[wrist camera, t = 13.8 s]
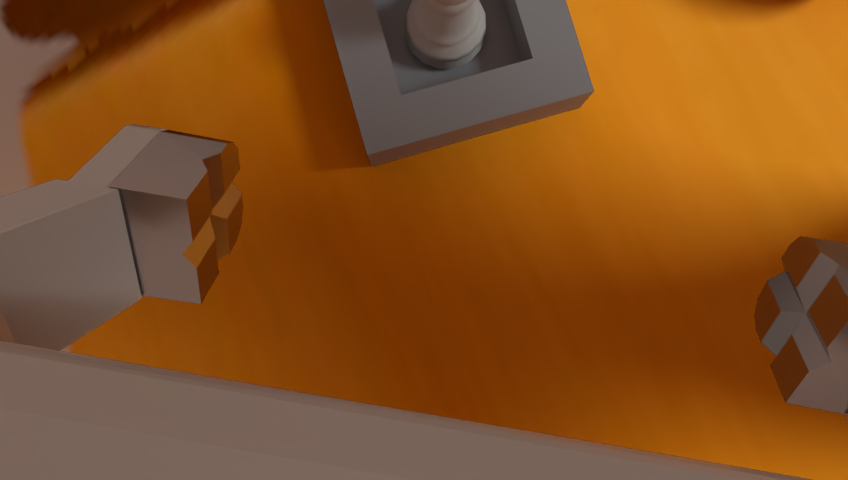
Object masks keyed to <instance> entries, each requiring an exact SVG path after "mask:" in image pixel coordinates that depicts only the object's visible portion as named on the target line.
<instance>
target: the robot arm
mask: <svg viewBox="0 0 848 480" xmlns="http://www.w3.org/2000/svg"><path fill="white" fill-rule="evenodd" d="M239 170H240V162H239V153H238V148H237V147H236V145H235V144H234V142H230V141H225V140H220V139H214V138H209V137H203V136H198V135H192V134H187V133H182V132H176V131H171V130H164V129H161V128H155V127H148V126H141V125H135V124H134V125H126V126H124V127H123V128H122V129H121V130H120V131H119V132H118V133H117V134H116V135H115V136H114V137H113V138H112V139H111V140H110V141H109V142H108V143H107V144H106V145H105V146H104V147H103V148H102V149H101V150H99V151H98V152H97V153H96V154H95V155H94V156H93V157H92V158H91V159H90V160H89V161H88V162H87V163H86V164H85V165H84V166H83V167H82V168H81V169H80V170H79V171H78V172H77V173H76V174H75V175H74V176H73V177H71V178H70V179H69V180H68V181H66V180H60V179H56V180H52V181H49V182H46V183H43V184H40V185H37V186H34V187H31V188H28V189H25V190H22V191H18V192H15V193H12V194H9V195H6V196H3V197H0V480H812V479H806V478H800V477H794V476H789V475H783V474H777V473H771V472H766V471H760V470H754V469H748V468H742V467H737V466H731V465H725V464H719V463H713V462H708V461H702V460H696V459H690V458H685V457H679V456H673V455H667V454H661V453H656V452H650V451H644V450H638V449H632V448H626V447H621V446H615V445H609V444H603V443H597V442H591V441H585V440H579V439H574V438H568V437H562V436H556V435H550V434H544V433H538V432H532V431H526V430H521V429H515V428H509V427H503V426H497V425H491V424H485V423H479V422H473V421H468V420H462V419H456V418H450V417H444V416H438V415H432V414H426V413H420V412H415V411H409V410H403V409H397V408H391V407H385V406H379V405H373V404H368V403H362V402H356V401H350V400H344V399H338V398H332V397H327V396H321V395H315V394H309V393H303V392H297V391H292V390H286V389H280V388H274V387H268V386H262V385H256V384H251V383H245V382H239V381H233V380H227V379H221V378H215V377H210V376H204V375H198V374H192V373H186V372H180V371H175V370H169V369H163V368H157V367H151V366H145V365H139V364H134V363H128V362H122V361H116V360H110V359H104V358H98V357H93V356H87V355H81V354H75V353H69V352H63V351H60V350H62V349H63V348H65V347H67V346H68V345H70V344H71V343H73V342H74V341H76V340H78V339H79V338H81V337H82V336H84V335H86V334H87V333H89V332H90V331H92V330H93V329H95V328H97V327H98V326H100V325H101V324H103V323H104V322H106V321H108V320H109V319H111V318H112V317H114V316H115V315H117V314H119V313H120V312H122V311H123V310H125V309H126V308H128V307H130V306H131V305H133V304H134V303H136V302H137V301H139V300H141V299H142V296H148V297H155V298H162V299H169V300H176V301H183V302H190V303H197V304H202V302H203V300H204V298H205V297H206V295H207V293H208V291H209V290H210V288H211V286H212V284H213V283H214V281H215V279H216V277H217V276H218V274H219V269H218V259H220V258H222V257H224V256H226V255H228V254H230V252H231V251H232V249H233V247H234V245H235V243H236V241H237V238H238V234H239V231H240V227H241V224H242V213H243V201H242V193H241V192H240V191H239V189H238V188H237V187H236V186H235V184H234V183H233V182H232V181H233V179H234V178H235V176H236V175H237V173H238V171H239ZM782 262H783V266H784V269H785V271H784V272H783V273H781V274H779V275H777V276H775V277H774V278H772V279H770V280H768V281H767V283H766V284H765V286H764V288H763V290H762V291H761V293H760V295H759V297H758V300H757V305H756V310H755V325H756V331H757V333H758V336H759V339H760V341H761V343H762V344H763V345H765V346H766V347H767V348H768V349H769V350H770V351H771V352H772V353H774V354H775V355H776V357H775V359H774V361H773V362H772V364H771V369H772V371H773V373H774V376H775V378H776V381H777V383H778V386H779V388H780V390H781V393H782V395H783V398H784V400H785V403H789V404H794V405H799V406H804V407H809V408H814V409H820V410H825V411H830V412H835V413H840V414H845V415H847V417H846V418H847V419H848V243H844V242H836V241H829V240H822V239H815V238H808V237H801V236H800V237H799V238H797V239H796V240H795V241H794V242H793V243H791V244H790V245H789V247H788V249H787V250H786V252H785V253H784V255H783V256H782Z"/></svg>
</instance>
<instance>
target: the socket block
mask: <svg viewBox="0 0 848 480" xmlns="http://www.w3.org/2000/svg"><path fill="white" fill-rule="evenodd" d="M323 1H324V5H325V9H326V12H327V16H328V19H329V23H330V26H331V30H332V33H333V37H334V40H335V44H336V47H337V51H338V54H339V58H340V61H341V65H342V68H343V72H344V75H345V79H346V83H347V86H348V90H349V93H350V97H351V100H352V104H353V107H354V111H355V114H356V118H357V121H358V125H359V128H360V132H361V135H362V139H363V142H364V146H365V150H366V153H367V156H368V158H369V161H370V163H371V166H375V165H379V164H382V163H386V162H389V161H393V160H397V159H400V158H404V157H407V156H411V155H414V154H418V153H421V152H425V151H428V150H432V149H435V148H439V147H443V146H446V145H450V144H453V143H457V142H460V141H464V140H467V139H471V138H474V137H478V136H481V135H485V134H489V133H492V132H496V131H499V130H503V129H506V128H510V127H513V126H517V125H520V124H524V123H527V122H531V121H535V120H538V119H542V118H545V117H549V116H552V115H556V114H559V113H563V112H566V111H570V110H573V109H577V108H580V107H581V106H582V104H583V103H584V102H585V101H586V100H587V99H588V98H589V96H590V95H591V94H592V93H593V92H594V89H593V86H592V83H591V80H590V77H589V73H588V70H587V67H586V64H585V61H584V57H583V54H582V51H581V48H580V45H579V41H578V38H577V35H576V32H575V29H574V25H573V22H572V19H571V16H570V13H569V9H568V6H567V3H566V0H479V1H480V3H481V5H482V7H483V9H484V12H485V14H486V37H485V39H484V42H483V45H482V47H481V50H480V51H479V52H478V53H477V54H476V55H475V56H474V58H473V59H472V60H471V61H470V62H468V63H466V64H463V65H461V66H459V67H456V68H448V69H438V68H435V67H433V66H430V65H427V64H425V63H423V62H422V61H421V60H420V59H419V58H417V57H416V56H415V55H414V54H413V53H412V51H411V49H410V47H409V45H408V43H407V41H406V38H405V21H406V14H407V12H408V9H409V7H410V4H411V2H412V0H323Z"/></svg>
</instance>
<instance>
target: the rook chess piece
mask: <svg viewBox="0 0 848 480" xmlns="http://www.w3.org/2000/svg"><path fill="white" fill-rule="evenodd" d="M485 37H486V14H485V12H484V9H483V7H482V5H481V3H480V1H479V0H412V2H411V4H410V7H409V9H408V12H407V14H406V21H405V38H406V41H407V43H408V45H409V47H410V49H411V51H412V53H413V54H414V55H415V56H416V57H417V58H419V59H420V60H421V61H422V62H423V63H425V64H427V65H430V66H433V67H435V68H438V69H448V68H456V67H459V66H461V65H463V64H466V63H468V62H470V61H471V60H472V59H473V58H474V56H475V55H476V54H477V53H478V52H479V51H480V50H481V47H482V45H483V42H484V39H485Z"/></svg>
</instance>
